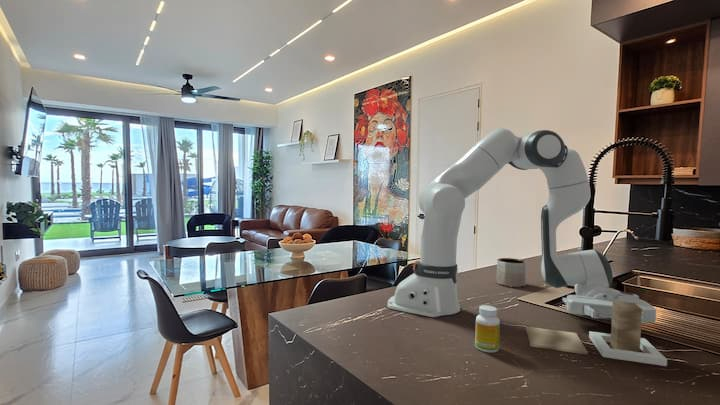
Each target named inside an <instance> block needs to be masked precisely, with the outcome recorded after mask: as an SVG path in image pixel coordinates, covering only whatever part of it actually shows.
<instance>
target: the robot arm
mask: <svg viewBox="0 0 720 405" xmlns="http://www.w3.org/2000/svg"><path fill="white" fill-rule="evenodd" d="M507 164H509V165H510V166H511V167H513V168H515V169H517V170H522V171H528V170H537V169H539V170H540V171H541V172H542V173H543V175H544V177H545V179H546V184H547V188H548V200H547V202H546V204H545V205H544V206H542V207H541V208H542V209H541V211H540V212H541V213H540V233H541V234H540V236H541V237H540V238H541V264H540V272H541V277H542V279H543V281H544V282H545V283H546V284H547V285H548V286H551V287H552V288H555V289H559V288H560V289H561V288H563V287H564V288H565V287H568V286H574V291H575V294H567V296H566V297H562V299H561V301H562V302H563V303H564V304H566V307H565V308H566V310H567V312H568V313H570V314H573V315H581V316H589V317H591V318H592V319H602V320H606V319H607V320H608V319H612V306H613V301H617V302H627V303H635V304H636V305H637V306H639V307H640V308H641V309H642V320H641V325H642V324H644V323H650V324H653V323H655V322H656V320H657V309H656V308H655V307H654V306H653V305H651V304H650V303H648V302H647V301H645V300H643V299H640V296H639V295H637V294H635V293H630V292H625V291H621V290H617V289H614V288H612V287H610V286H611V285H612V282H613V279H614V278H613V276H614V275H613V270H612V267H611V264H610V262H609V260H608V259H607V257H606V256H605V255H604V254H603V253H601V251H598V250H596V249H595V248H593V249H588V250H587V249H586V250H581V251H580V250H579V251H576V252H569V253H568V252H567V253H561V254H558V253H557V229H558V227H559V226H560V225H561V223H563V222H564V221H565V220H566V219H568V218H570V217H572V216H574V215H576V214H577V213H580V211H582V210H583V209H585V207H586V206H587V205H588V203H589V202H590V200H591V196H592V195H591V187H590V181H589V177H588V173H587V171H586V168H585V165H584V162H583V160H582V158H581V156H580V154H579V153H578V151H576V150H574V149H571V148H568V146H567V145H566V144H565V141H564V140H563V138H562V137H561V136H560V135H559V134H558V133H556V132H555V131H552V130H548V129H544V130H543V129H541V130H537V131H535V132H531V133H527V134H525V135H522V136H517V135H516V134H514V132H512V131H511V130H509V129H507V128H502V127H500V128H496V129H494V130H493V131H491V132H488V134H487V135H485V136H483V137H482V138H481V139H480V140H478V141H477V142H476V143H475V144H474V145H473V146H472V147H470V148H469V150H468V151H466V152H465V153H464V154H463V155H462V156H461V157H460V158H459V159H457V161H455V162H454V163H453V164H452V165H450V166H449V167H448V168H447V169H446V170H444V171H443V172H442V173H441V174H439V175H438V176H437V177H436V178H434V180H432V181H431V182H429V184H428V185H426V186H424V188H423V189H422V190H420V193H419V195H418V206H419V209H420V210H421V212H422V213H424V219H423V224H422V226H423V227H422V232H421V236H420V248H419V249H420V251H419V252H420V254H419V255H420V256H419V260H418V259H417V260H416V261H414V263H413V267H412V269H413V270H412V271H413V273H412V274H410V275H409V276H407V277H406V278H405V279H403V280H402V281H400V282H399V283H398V284H397V287H396V289H395V291H394V292H395V293H394V295H393V296H392V295H391V297H389V299H388V300H387V308H389V309H391V310H395V311H400V312H405V313H410V314H415V315H421V316H425V317H430V318H438V317H441V316H450V315H454V314H457V313H459V312H460V311H461V307H460V304H459V299H458V292H457V291H458V290H457V282H458V273H459V272H458V270H459V268H458V264H457V250H458V249H457V246H458V244H457V242H458V235H459V229H460V225H461V220H462V216H463V213H464V210H465V207H466V199H467V198H468V197H469V196H472V194H474V193H475V192H476V191H479V190H481V189H482V188H483V186H485V185H486V184H488V182H489V181H490V180H491V179H492V178H493V177H494V176H496V174H498V173H499V172H500V171H501V170H502V169H503V168H504V166H507Z"/></svg>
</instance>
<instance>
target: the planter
mask: <svg viewBox="0 0 720 405" xmlns="http://www.w3.org/2000/svg"><path fill="white" fill-rule="evenodd" d="M496 262H497V263H496V266H497V267H496V277H495V278H496V281H495V282H496V283H497V284H498V285H500V284H501V285H500V286H502V285H504V286H503V287H506V286H512V287H511V288H513V287H520V288H522V287H521V286H524V287H525V286H526V283H527V261H525V260H523V259H521V258H520V259H518V258H512V257H502V258H501V257H500V258H498V259H497V260H496Z"/></svg>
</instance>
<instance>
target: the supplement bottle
mask: <svg viewBox="0 0 720 405" xmlns="http://www.w3.org/2000/svg"><path fill="white" fill-rule="evenodd" d="M478 307H479V310H478V312H479V314H478V315H477V316H476V318H475V332H474V333H475V336H474V346H475V348H476V349H477V350H479V351H481V352H483V353H488V354H489V353H492V354H493V353H496V352H498V351H499V350H500V332H501V331H500V330H501V321H500V318H499V317H498V316H497V315H498V308H497V307H495V306H493V305H489V304H487V305H486V304H485V305H483V304H482V305H480V306H478Z"/></svg>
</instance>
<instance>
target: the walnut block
mask: <svg viewBox="0 0 720 405" xmlns="http://www.w3.org/2000/svg"><path fill="white" fill-rule="evenodd" d="M641 320H642V309H641V308H640V307H639V306H637V305H636V304H635V303H627V302H617V301H613V306H612V318H611V326H610V328H611V329H610V330H611V331H610V334H611V343H610V346H611V348H612V349H619V350H626V351H634V352H641V351H640V350H641V349H640V338H642V337H641V335H642V324H641Z"/></svg>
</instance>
